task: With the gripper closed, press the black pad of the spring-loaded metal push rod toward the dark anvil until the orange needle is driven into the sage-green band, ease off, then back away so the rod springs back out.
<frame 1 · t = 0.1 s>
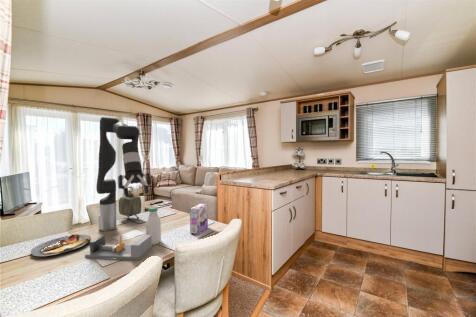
hand: (137, 195, 100), 31 cm above the table, tool tilted 20°, fingers open, 8 cm apart
tabletop clock: (129, 219, 161), on the table
food plate: (63, 248, 115), on the table
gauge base: (119, 253, 108), on the table
needle: (120, 242, 108), point 6 cm above the table, slide at 0.0 cm
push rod: (106, 244, 109), point 4 cm above the table, slide at 0.0 cm
candy box: (199, 230, 139), on the table
milk bottle: (153, 242, 121), on the table
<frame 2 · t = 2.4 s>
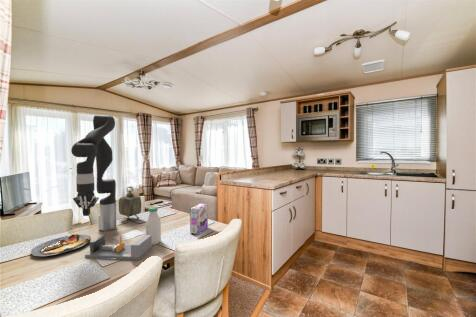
hand: (86, 215, 109), 19 cm above the table, tool pointing down, fingers closed
nothing on the table moved.
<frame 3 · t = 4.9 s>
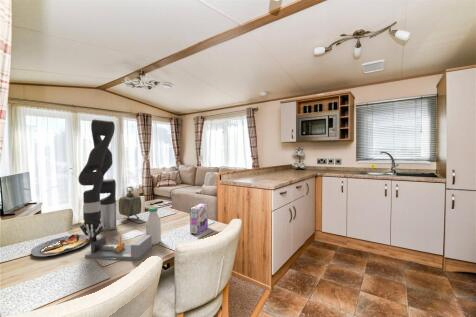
hand: (93, 243, 109), 5 cm above the table, tool pointing down, fingers closed
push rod: (107, 244, 109), point 4 cm above the table, slide at 0.5 cm, touching gripper
everything else where it was.
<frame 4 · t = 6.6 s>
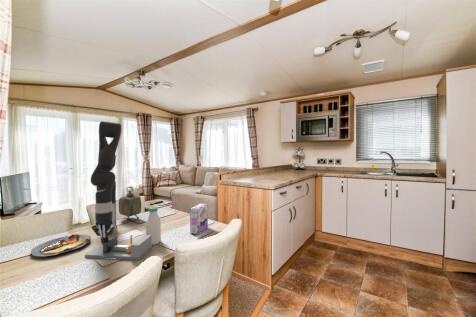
hand: (104, 243, 109), 5 cm above the table, tool pointing down, fingers closed
needle: (131, 242, 107), point 6 cm above the table, slide at 6.0 cm, touching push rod
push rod: (119, 244, 108), point 4 cm above the table, slide at 7.0 cm, touching gripper, needle
everything else where it was.
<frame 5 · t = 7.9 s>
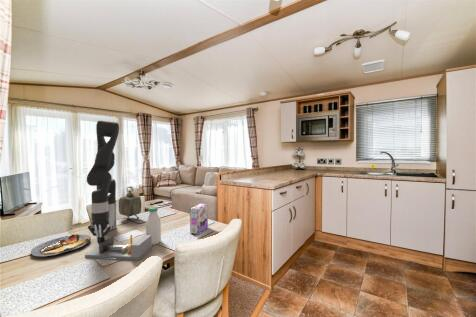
hand: (100, 243, 109), 5 cm above the table, tool pointing down, fingers closed
needle: (131, 242, 107), point 6 cm above the table, slide at 6.0 cm
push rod: (115, 244, 108), point 4 cm above the table, slide at 4.9 cm, touching gripper
everything else where it was.
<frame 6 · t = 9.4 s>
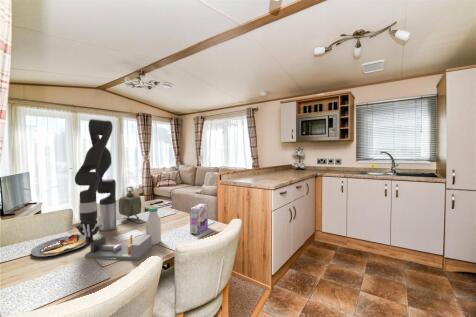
hand: (89, 242, 110), 4 cm above the table, tool pointing down, fingers closed
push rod: (107, 244, 109), point 4 cm above the table, slide at 0.3 cm
everything else where it was.
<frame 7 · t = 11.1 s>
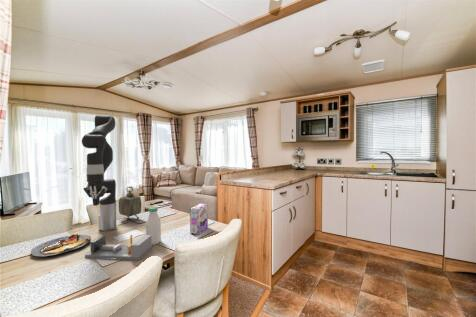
hand: (96, 205, 112), 24 cm above the table, tool pointing down, fingers closed
nothing on the table moved.
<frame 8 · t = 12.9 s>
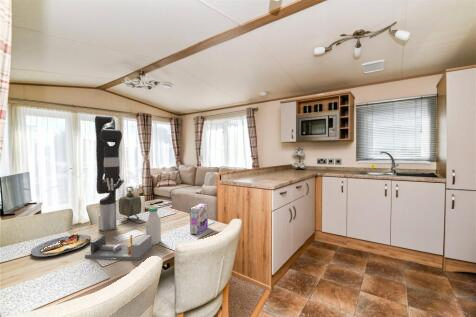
hand: (112, 196, 117), 27 cm above the table, tool pointing down, fingers closed
nothing on the table moved.
at the end: needle slide at 6.0 cm; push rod slide at 0.3 cm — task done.
